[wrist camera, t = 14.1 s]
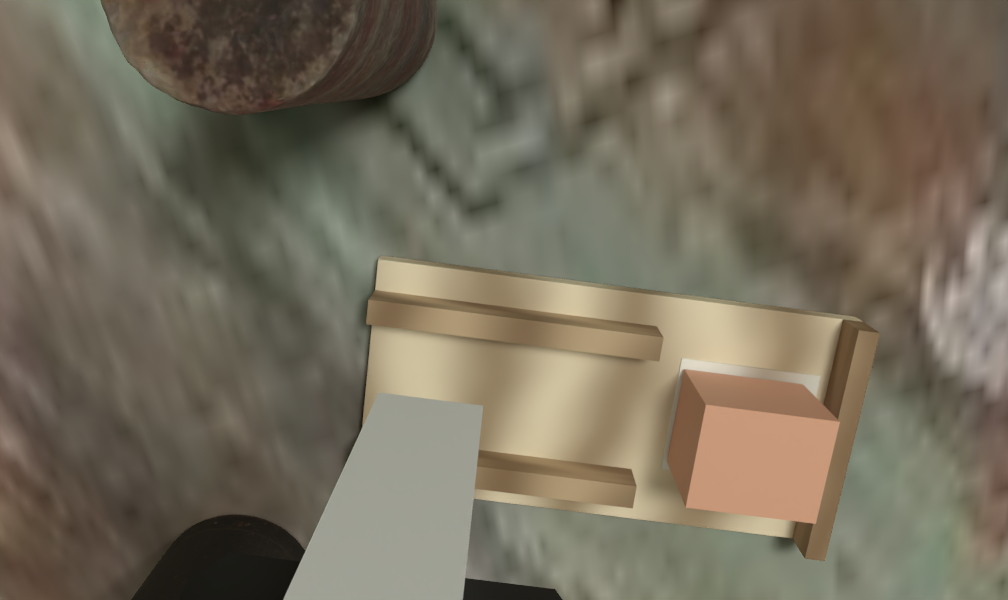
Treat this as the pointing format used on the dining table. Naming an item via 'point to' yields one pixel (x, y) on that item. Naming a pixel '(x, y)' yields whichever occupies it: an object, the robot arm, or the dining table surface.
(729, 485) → the block
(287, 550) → the container
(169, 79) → the candle
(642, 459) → the chute
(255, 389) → the dining table surface
